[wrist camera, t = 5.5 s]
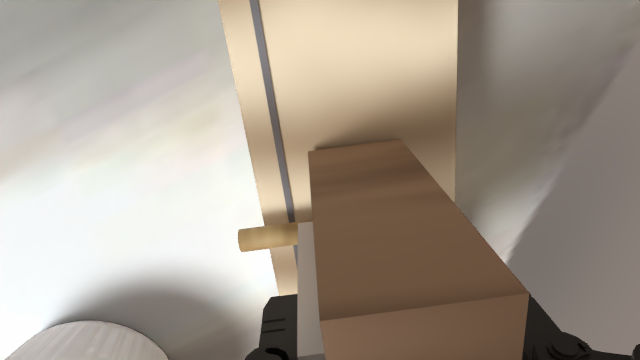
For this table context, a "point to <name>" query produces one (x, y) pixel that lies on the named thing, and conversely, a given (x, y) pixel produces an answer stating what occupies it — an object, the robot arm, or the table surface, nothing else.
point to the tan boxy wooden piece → (400, 263)
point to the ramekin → (88, 343)
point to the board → (339, 92)
